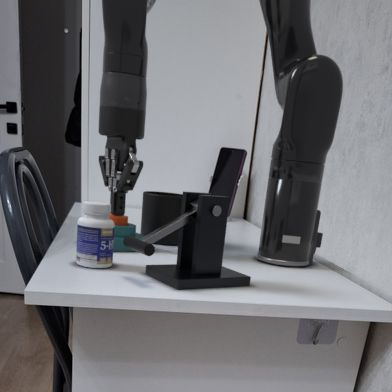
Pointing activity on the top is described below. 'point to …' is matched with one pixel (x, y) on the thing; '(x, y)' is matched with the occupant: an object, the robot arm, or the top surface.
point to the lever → (160, 232)
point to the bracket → (201, 248)
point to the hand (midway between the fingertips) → (116, 214)
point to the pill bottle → (95, 236)
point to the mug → (160, 214)
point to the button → (119, 220)
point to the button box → (121, 233)
